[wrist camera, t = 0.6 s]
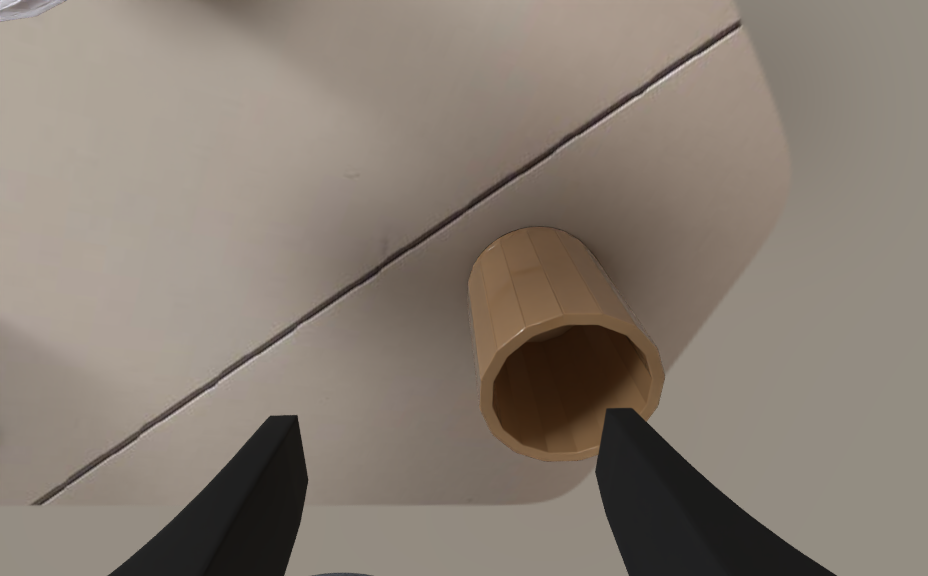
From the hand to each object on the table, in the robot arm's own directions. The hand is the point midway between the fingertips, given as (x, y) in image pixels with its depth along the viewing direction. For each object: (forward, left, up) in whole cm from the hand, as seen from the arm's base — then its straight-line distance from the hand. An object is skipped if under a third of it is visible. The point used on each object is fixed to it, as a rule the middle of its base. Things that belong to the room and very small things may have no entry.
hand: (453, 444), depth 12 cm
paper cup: (-1, -4, -10) cm, 11 cm away
